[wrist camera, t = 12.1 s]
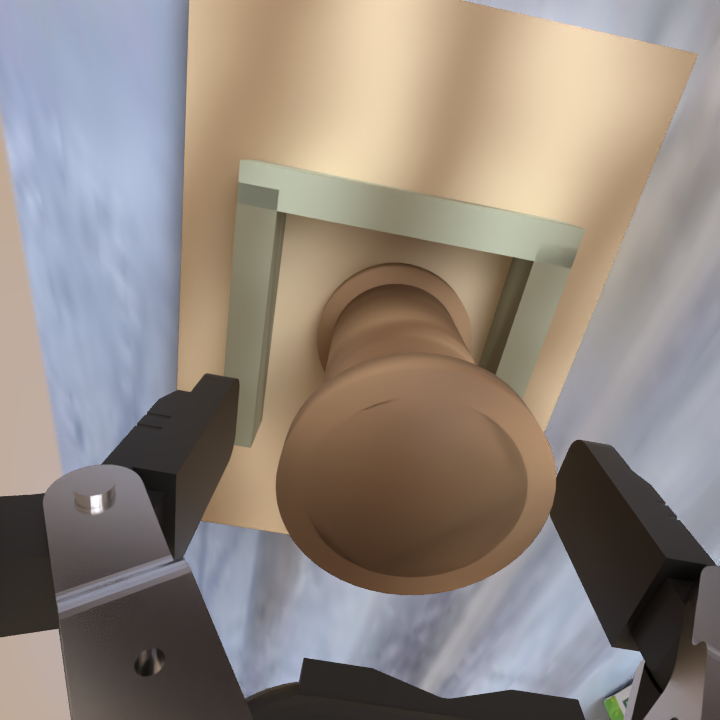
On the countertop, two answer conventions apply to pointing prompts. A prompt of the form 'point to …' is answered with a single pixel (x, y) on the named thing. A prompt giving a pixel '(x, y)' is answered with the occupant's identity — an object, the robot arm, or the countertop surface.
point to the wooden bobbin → (410, 445)
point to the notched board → (400, 190)
